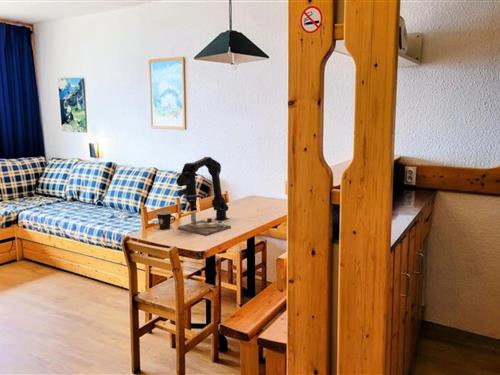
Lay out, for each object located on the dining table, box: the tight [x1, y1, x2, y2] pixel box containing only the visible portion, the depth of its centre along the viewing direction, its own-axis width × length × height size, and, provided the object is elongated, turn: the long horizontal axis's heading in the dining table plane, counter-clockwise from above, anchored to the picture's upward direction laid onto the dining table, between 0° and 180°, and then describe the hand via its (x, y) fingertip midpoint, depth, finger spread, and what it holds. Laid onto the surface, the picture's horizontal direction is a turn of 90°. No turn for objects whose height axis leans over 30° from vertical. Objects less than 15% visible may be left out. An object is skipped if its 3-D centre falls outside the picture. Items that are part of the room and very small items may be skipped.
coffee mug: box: [156, 210, 176, 231], centre depth 278 cm, size 12×9×10 cm
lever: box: [190, 212, 225, 227], centre depth 271 cm, size 20×4×8 cm, turn 95°
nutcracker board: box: [177, 217, 232, 237], centre depth 276 cm, size 21×26×4 cm
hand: (192, 209), depth 270 cm, fingers open, 9 cm apart
